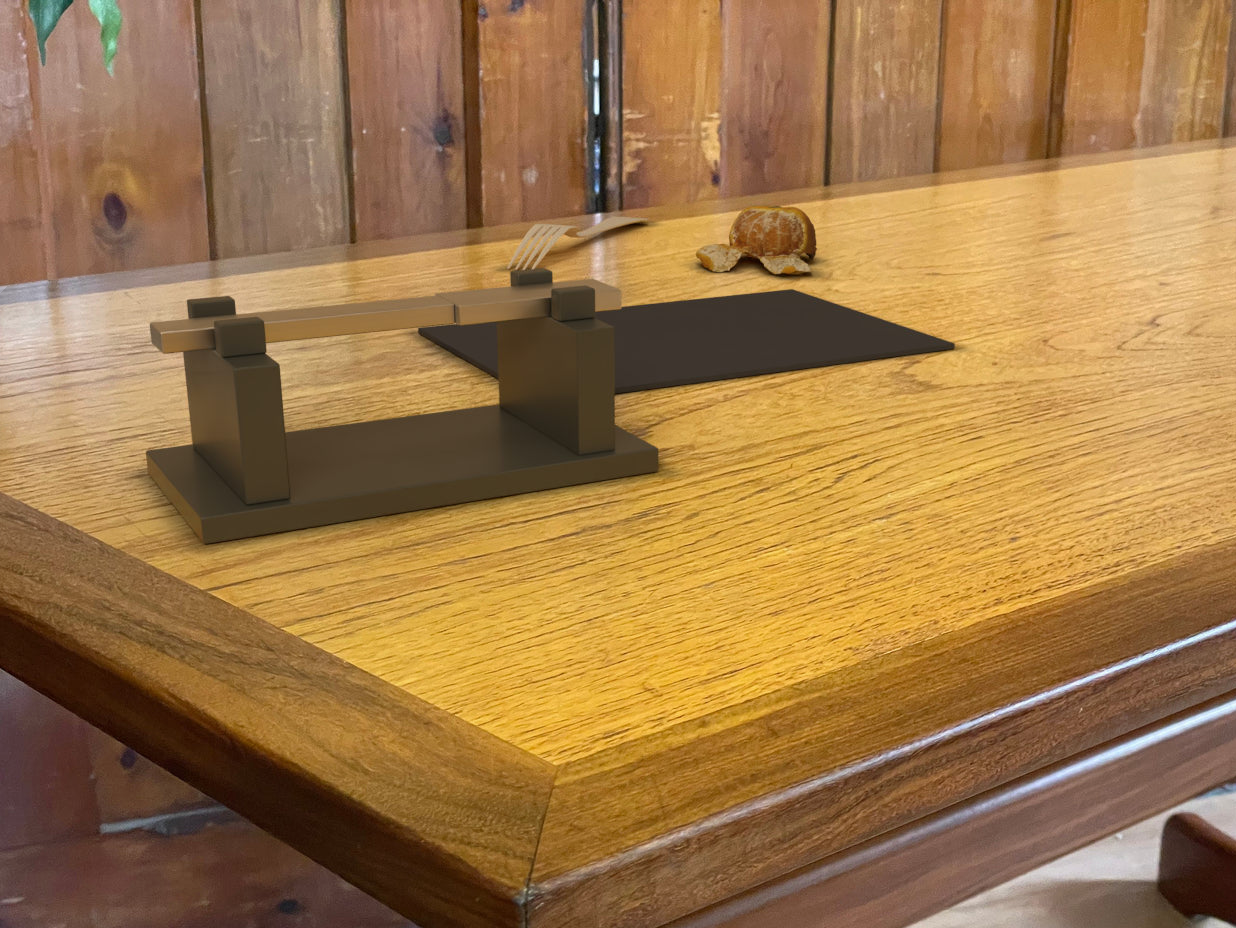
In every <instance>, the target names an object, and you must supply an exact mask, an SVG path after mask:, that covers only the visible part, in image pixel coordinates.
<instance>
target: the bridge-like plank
mask: <svg viewBox="0 0 1236 928" xmlns="http://www.w3.org/2000/svg"><path fill="white" fill-rule="evenodd" d="M585 285H586V286H589V287H591V288H594V289H595V312H597V311H607V310H616V309H621V308H622V307H623V305H622V303H623V302H622V300H623V299H622V289H620V288H618V287H615V286H612V285H610V284H607V283H605V282H602V281H600V280H597V279H595V278H586V279H575V280H565V281H553V283H542V284H531V285H521V286H511V285H510V286H501V287H500V286H499V287H491V288H489V287H487V288H479V289H469V290H458V291H456V290H455V291H448V292H437V293H435V294H434V295H428V296H418V297H417V296H416V297H406V298H396V299H386V300H385V299H384V300H375V301H365V302H364V301H363V302H355V303H354V302H353V303H344V304H333V305H324V306H313V307H312V306H311V307H301V308H290V309H281V310H280V309H279V310H269V311H268V310H267V311H260V312H259V311H258V312H247V313H238V314H237V313H236V315H225V316H215V317H204V318H193V319H189V318H185V319H175V320H174V319H173V320H163V321H153V322H152V321H151V322H150V323H149V332H150V340H151V344H152V345H153V346H154V347H155V348H156V349H157V350H158V351H159V352H161V353H162V354H163V355H166V354H176V353H183V352H187V351H197V350H207V349H216V341H215V330H214V321H217V320H227V319H238V318H248V317H259V318H260V319H262V320H263V321H264V325H265V337H266V344H272V343H273V344H274V343H283V342H293V341H303V340H312V339H321V338H330V337H339V336H340V337H341V336H350V335H359V334H360V335H361V334H371V333H380V332H389V331H399V330H408V329H418V328H422V327H432V326H442V325H451V324H458V325H460V326H463V325H473V324H482V323H492V322H501V321H511V320H520V319H530V318H540V317H549V316H552V305H551V290H552V289H553V288H564V287H574V286H585Z"/></svg>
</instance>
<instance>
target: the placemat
mask: <svg viewBox="0 0 1236 928" xmlns="http://www.w3.org/2000/svg"><path fill="white" fill-rule="evenodd" d="M595 319H597V320H599V321H602V322H604V323H606V324H608V325H611V326H613V327H614V375H615V395H616V394H622V393H623V394H624V393H630V392H631V393H632V392H638V391H644V390H645V391H647V390H653V389H661V388H669V387H675V386H683V385H691V384H699V383H706V382H713V381H714V382H715V381H721V380H722V381H723V380H729V379H736V378H743V377H744V378H745V377H751V376H752V377H753V376H758V375H767V374H774V373H781V372H789V371H797V370H805V369H812V368H820V367H825V366H826V367H828V366H835V365H840V364H841V365H842V364H849V363H858V362H864V361H872V360H873V361H874V360H880V359H887V358H894V357H902V356H910V355H916V354H917V355H918V354H925V353H932V352H941V351H947V350H955V347H956V346H955V342H951V341H949V340H945V339H942V338H939V337H937V336H933V335H930V334H927V333H925V332H922V331H918V330H916V329H913V328H911V327H910V328H909V327H908V326H904V325H901V324H898V323H894V322H892V321H888V320H885V319H882V318H879V317H877V316H874V315H871V314H868V313H865V312H861V311H859V310H855V309H853V308H849V307H847V306H844V305H840V304H837V303H835V302H832V301H829V300H826V299H823V298H820V297H817V296H814V295H812V294H811V295H810V294H807V293H805V292H802V291H800V290H799V291H798V290H795V289H793V288H789V289H781V290H780V289H779V290H770V291H761V292H754V293H753V292H752V293H751V292H750V293H742V294H741V293H740V294H734V295H733V294H732V295H722V296H713V297H704V298H703V297H702V298H693V299H683V300H674V301H665V302H655V303H646V304H645V303H644V304H637V305H636V304H634V305H626V306H622V308H621V309H616V310H607V311H597V312H595ZM417 333H418V334H419V335H421V336H423V337H425V338H426V339H428V340H430V341H431V342H433V343H435V344H437V345H438V346H440V347H442V348H444V349H445V350H447V351H449V352H450V353H452V354H454V355H455V356H457V357H459V358H461V359H463V360H464V361H466V362H468V363H469V364H471V365H473V366H474V367H476V368H478V369H480V370H481V371H484V373H487V374H489V375H491V376H492V377H493V378H496V379H497V380H499V377H498V347H497V322H492V323H482V324H473V325H463V326H460V325H458V324H456V323H454V324H448V325H438V326H429V327H419V328H417Z"/></svg>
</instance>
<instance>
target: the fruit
mask: <svg viewBox="0 0 1236 928" xmlns="http://www.w3.org/2000/svg"><path fill="white" fill-rule="evenodd" d="M728 240H729V243H712V244H711V243H710V244H706V245H703V246H701V247H700V248H699V249H698V250H697V251H696V252H695V256H696V258H697V259H699V261H701V264H702V266H703V267H704V268H707V269H708V270H709V271H712V272H713V273H714V272H715V273H716V272H717V273H723V272H727V271H728V272H730V269H732V268H733V267H734V266H735V265H736V264H737V263H739V259H740V258H741V255H746V256H747V258H752V259H758V260H760V263H762V264H763V267H764V268H765V269H767V270H768V271H769V272H770V273H772V274H773V275H780V274H787V275H801V274H803V273H810V272H811V273H813V272H814V269H813V268H812V267H810V265H809V264H808V263H807V262H805V260H802V259H801V256H802V255H803V254H805V255H806V256H807V257H808V260H813V259H814V258H815V256H816V254H817V253H816V252H817V250H818V248H817V237H816V229H815V226H814V223H812V221H811V219H810V217H809V216H808V215H807V214H806V213H805V212H804V211H803V210H802V209H800V208H798V207H795V206H780V205H753V206H748V207H746V208H744V209H742V211H740V213H738V215H737V217H736V218H735V220H734V221H733V223H732V226H731V227H730V230H729V234H728Z"/></svg>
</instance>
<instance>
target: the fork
mask: <svg viewBox="0 0 1236 928" xmlns="http://www.w3.org/2000/svg"><path fill="white" fill-rule="evenodd" d="M649 221H650V219H649V218H646V217H645V218H644V217H632V216H631V217H630V216H615V215H612V216H610V217H607V218H606V219H604V220H602V221H600V222H599V223H597V224H595V225H593V226H591V227H589V228H587V229H585V230H583V231H582V228H581V227H579V226H576V225H564V224H550V223H535V224H534V225H532V226H531V227H530V229H529V230H528V231H527V232H526V234H525V235H524V237H523V238H522V240H521V241H520V243H519V245H518V247H517V248H516V250H515V252H514V254H513V256H512V258H511V260H510V262H509V263H508V266H507V267H506V269H507V270H510V269H511V267H512V265H513V264H514V262H515V261H516V259H517V258H518V257H519V255H520V254H521V252H522V251H523V249H524V248H525V247H526V246H527V245H528V243H529V242H530V243H529V245H528V246H527V247H526V249H525V251H524V252H523V254H522V256H521V257H520V260H519V261H518V263H517V265H516V266H515V269H514V270H515V271H517V270H518V269H519V268H520V266H521V265H522V264H523V262H524V261H525V259H526V258H527V256H528V255H529V253H530V252H531V251H532V250H533V251H532V253H531V254H530V256H529V258H528V259H527V260H526V263H525V264H524V266H523V267H522V270H527V268H528V266H529V265H530V263H531V262H532V261H533V259H534V258H535V256H536V255H537V254H538V253H539V251H540V250H541V249H542V248H543V249H542V250H541V252H540V253H539V256H537V259H536V260H535V262H534V263H533V264H532V267H531V268H530V269H536V267H537V266H538V265H539V264H540V262H541V261H542V260H543V258H544V257H545V256H546V255H547V253H548V252H549V251H550V250H551V249H552V247H553V246H554V245H555V244H556V243H557V242H558V240H559V239H560V238H561V237H563V235H565V236H566V237H569V238H579V239H581V238H583V239H584V238H587V237H592V236H594V235H598V234H600V233H603V232H606V231H609V230H612V229H616V228H620V227H624V226H627V225H632V224H637V223H641V224H643V223H649ZM531 239H532V240H531ZM530 240H531V241H530ZM539 240H540V241H539ZM547 241H548V242H547ZM536 244H537V245H536ZM545 244H546V245H545ZM544 245H545V246H544ZM543 246H544V247H543ZM534 247H535V248H534Z"/></svg>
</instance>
